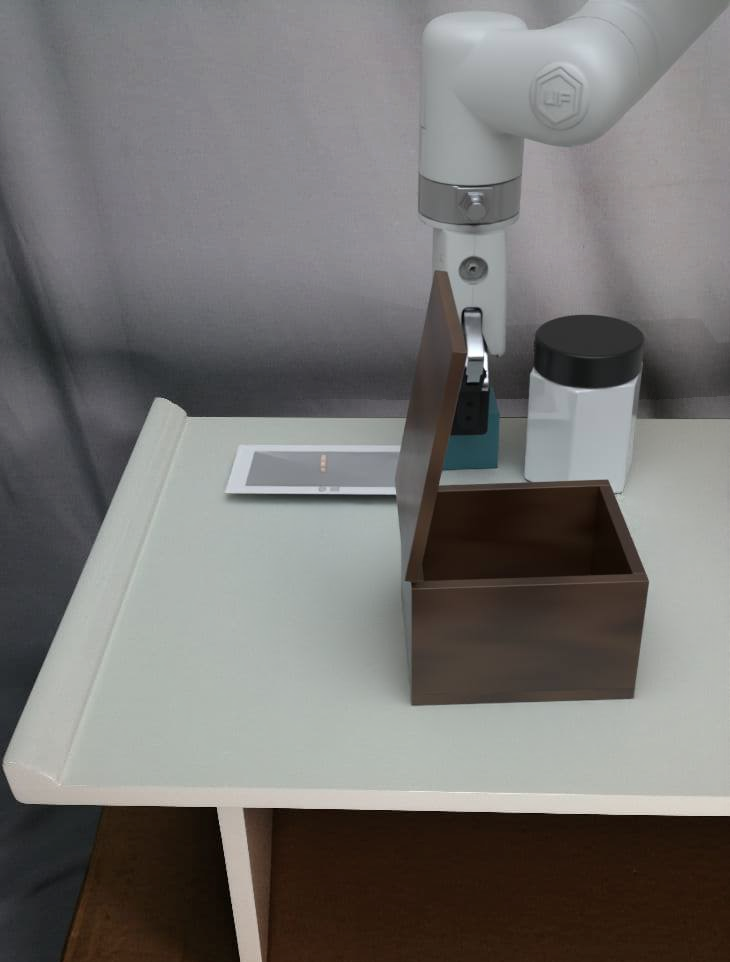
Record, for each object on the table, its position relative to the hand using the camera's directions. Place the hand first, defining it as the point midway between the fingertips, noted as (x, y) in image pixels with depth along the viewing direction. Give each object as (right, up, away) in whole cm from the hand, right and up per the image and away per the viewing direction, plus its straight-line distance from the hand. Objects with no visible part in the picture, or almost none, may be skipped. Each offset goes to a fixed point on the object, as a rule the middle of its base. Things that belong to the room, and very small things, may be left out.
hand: (460, 404), depth 96 cm
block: (+1, -4, +2) cm, 5 cm away
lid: (-5, -4, -28) cm, 29 cm away
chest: (+1, -18, -19) cm, 26 cm away
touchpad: (-11, -6, 0) cm, 13 cm away
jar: (+9, -6, -1) cm, 11 cm away
